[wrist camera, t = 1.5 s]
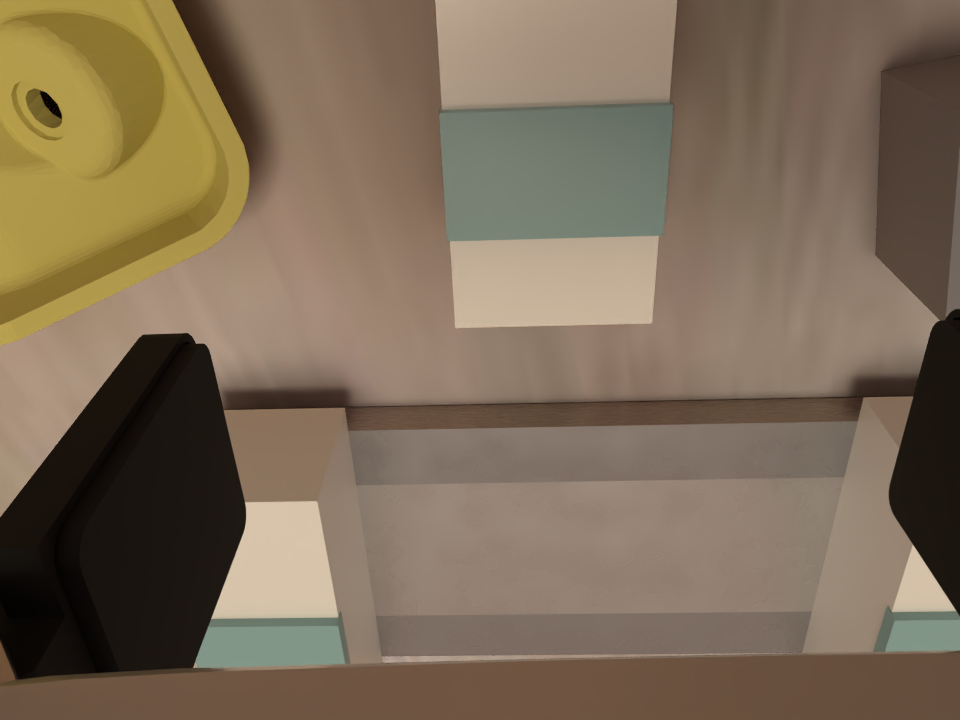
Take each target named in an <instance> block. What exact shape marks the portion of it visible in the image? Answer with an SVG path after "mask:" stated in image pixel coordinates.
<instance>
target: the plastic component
mask: <svg viewBox="0 0 960 720" xmlns="http://www.w3.org/2000/svg"><path fill="white" fill-rule="evenodd" d="M40 90H41V91H44V92H46V93H48V94H49V96H50V97H51V98H52V99H53V100H54V101H55V102H56V103H57V104H58V106H59V108H60V111H61V113H62V119H60V118H59V117H57V116H55V115H54V114H52V113H51V111H50V110H49V109H48V108H47V107H46V106H45V105H44V102H43V100H42V97H41V95H40ZM249 182H250V179H249V163H248V159H247V156H246V152H245V148H244V144H243V142H242V140H241V138H240V136H239V134H238V132H237V130H236V128H235V126H234V124H233V122H232V120H231V118H230V116H229V114H228V112H227V110H226V108H225V106H224V104H223V102H222V100H221V98H220V96H219V94H218V92H217V90H216V88H215V86H214V84H213V82H212V80H211V78H210V76H209V74H208V72H207V70H206V68H205V66H204V64H203V62H202V60H201V58H200V56H199V54H198V52H197V50H196V47H195V45H194V43H193V41H192V39H191V37H190V35H189V33H188V31H187V29H186V27H185V25H184V23H183V21H182V19H181V17H180V15H179V13H178V11H177V9H176V7H175V5H174V3H173V1H172V0H0V345H3V344H7V343H10V342H13V341H17V340H19V339H21V338H24V337H26V336H28V335H30V334H32V333H34V332H36V331H38V330H40V329H42V328H44V327H46V326H48V325H51V324H53V323H55V322H57V321H59V320H61V319H63V318H65V317H67V316H69V315H71V314H73V313H75V312H78V311H80V310H82V309H84V308H86V307H88V306H90V305H92V304H94V303H96V302H98V301H100V300H102V299H105V298H107V297H109V296H111V295H113V294H115V293H117V292H119V291H121V290H123V289H125V288H127V287H129V286H132V285H134V284H136V283H138V282H140V281H142V280H144V279H146V278H148V277H150V276H152V275H154V274H156V273H159V272H161V271H163V270H165V269H167V268H169V267H171V266H173V265H175V264H177V263H179V262H181V261H183V260H186V259H188V258H190V257H192V256H194V255H196V254H198V253H200V252H202V251H204V250H206V249H208V248H210V247H211V246H213V245H214V244H215V243H216V242H218V241H219V240H220V239H222V238H223V237H224V236H225V235H226V234H227V233H228V231H229V230H230V229H231V228H232V226H233V225H234V224H235V223H236V221H237V220H238V218H239V216H240V214H241V212H242V209H243V207H244V205H245V202H246V200H247V194H248V188H249Z"/></svg>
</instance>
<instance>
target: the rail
mask: <svg viewBox="0 0 960 720" xmlns="http://www.w3.org/2000/svg"><path fill="white" fill-rule="evenodd" d="M904 397H910V396H904ZM863 398H864V397H854V398H803V399H753V400H703V401H653V402H603V403H552V404H502V405H452V406H402V407H352V408H345V413H346V419H347V426H348V433H349V440H350V446H351V453H352V460H353V466H354V473H355V480H356V487H357V493H358V500H359V507H360V514H361V520H362V527H363V534H364V541H365V547H366V554H367V561H368V567H369V574H370V581H371V588H372V594H373V601H374V608H375V615H376V621H377V628H378V635H379V642H380V648H381V655H382V656H459V655H582V654H706V653H802V651H803V647H804V643H805V638H806V634H807V630H808V626H809V622H810V618H811V614H812V609H813V605H814V601H815V597H816V593H817V589H818V585H819V580H820V576H821V572H822V568H823V564H824V560H825V556H826V551H827V547H828V543H829V539H830V535H831V531H832V527H833V522H834V518H835V514H836V510H837V506H838V502H839V497H840V493H841V489H842V485H843V481H844V477H845V473H846V468H847V464H848V460H849V456H850V452H851V448H852V444H853V439H854V435H855V431H856V427H857V423H858V419H859V415H860V410H861V406H862V402H863ZM301 409H307V408H301ZM251 410H257V409H251Z"/></svg>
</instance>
